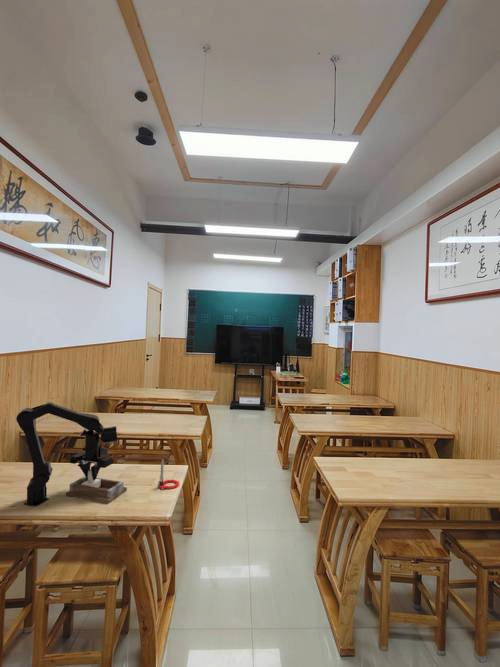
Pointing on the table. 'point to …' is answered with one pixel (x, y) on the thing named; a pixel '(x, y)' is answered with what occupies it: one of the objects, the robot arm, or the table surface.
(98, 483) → the keeper
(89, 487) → the brown tray
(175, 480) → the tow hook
